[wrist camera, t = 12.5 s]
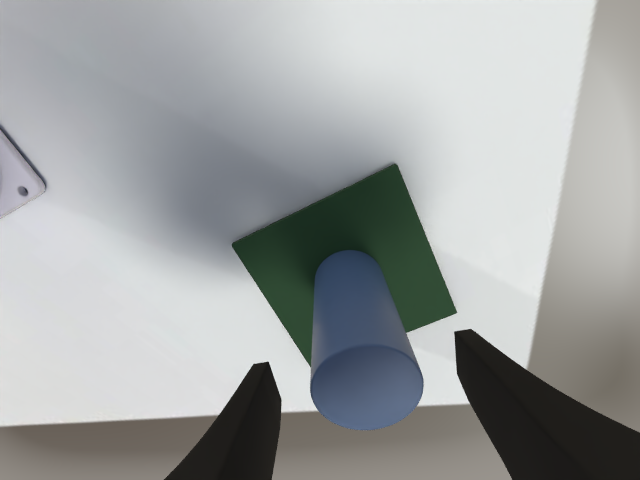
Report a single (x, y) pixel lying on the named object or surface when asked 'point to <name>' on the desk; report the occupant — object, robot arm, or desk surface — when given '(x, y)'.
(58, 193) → the desk surface
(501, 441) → the robot arm
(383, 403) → the peg
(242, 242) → the mat
